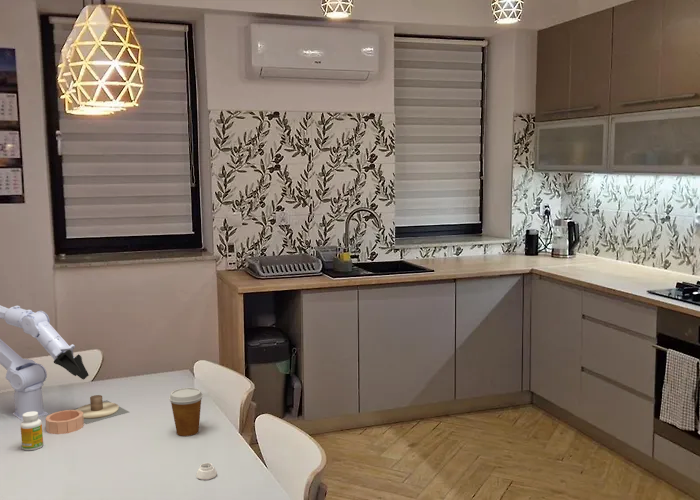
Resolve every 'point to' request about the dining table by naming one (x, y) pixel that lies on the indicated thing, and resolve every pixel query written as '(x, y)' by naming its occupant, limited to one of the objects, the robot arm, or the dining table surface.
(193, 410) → the disposable coffee cup
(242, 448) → the dining table surface
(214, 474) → the white tapered round cap
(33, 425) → the supplement bottle
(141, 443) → the dining table surface
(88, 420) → the mat
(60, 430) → the bowl
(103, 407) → the lid
